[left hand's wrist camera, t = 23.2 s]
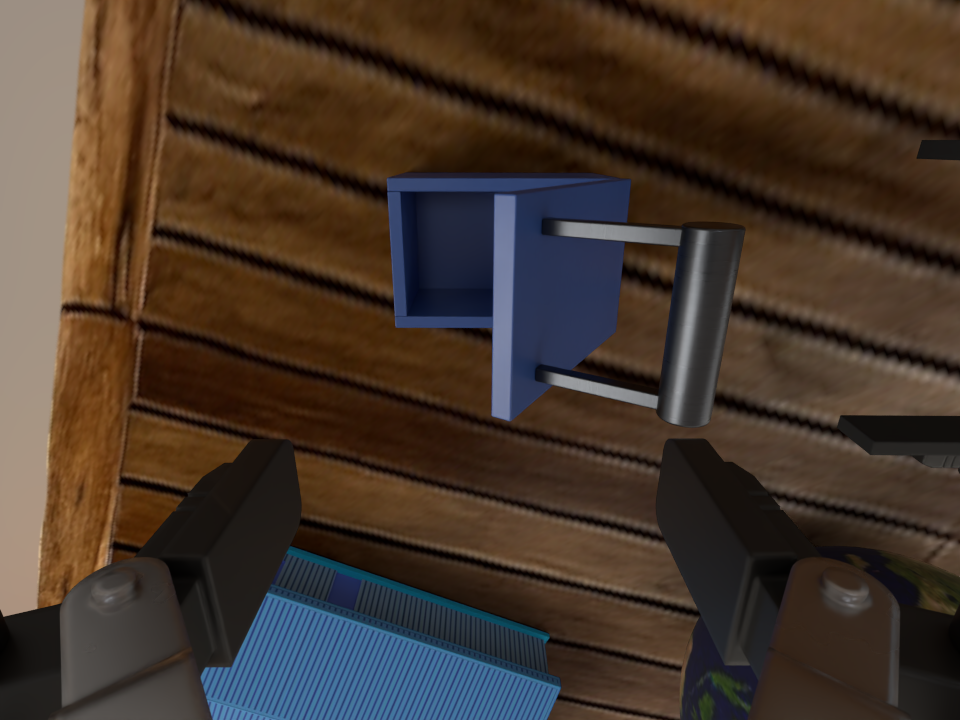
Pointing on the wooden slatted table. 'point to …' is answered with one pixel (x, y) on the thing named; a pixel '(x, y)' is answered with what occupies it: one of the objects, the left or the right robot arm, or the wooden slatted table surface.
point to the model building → (377, 654)
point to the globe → (731, 688)
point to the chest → (451, 243)
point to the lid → (602, 298)
